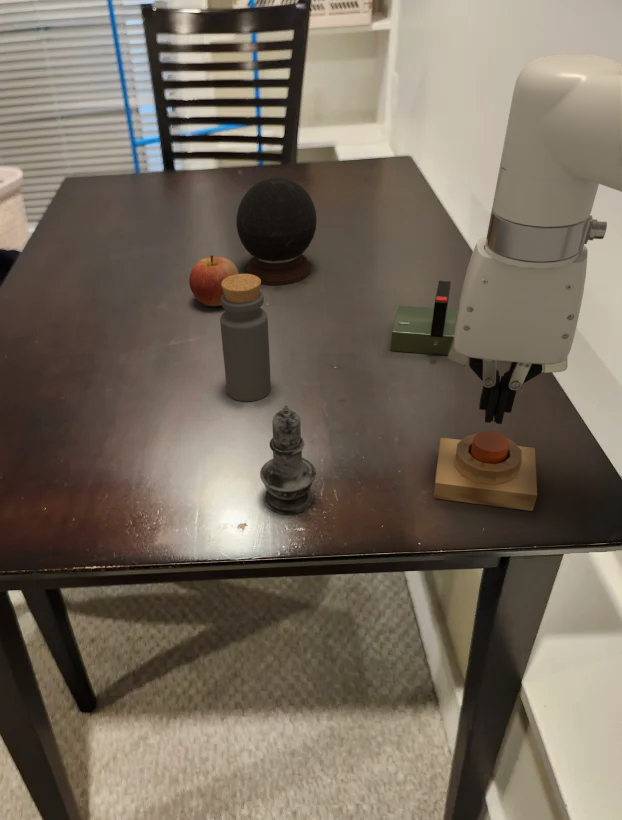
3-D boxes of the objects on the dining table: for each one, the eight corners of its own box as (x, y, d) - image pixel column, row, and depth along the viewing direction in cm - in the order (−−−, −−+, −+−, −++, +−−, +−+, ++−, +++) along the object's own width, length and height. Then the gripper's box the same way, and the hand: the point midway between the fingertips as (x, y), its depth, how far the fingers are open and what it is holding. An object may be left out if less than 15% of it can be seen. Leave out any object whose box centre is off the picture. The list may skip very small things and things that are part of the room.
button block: (530, 463, 76) (538, 434, 74) (532, 511, 71) (541, 481, 68) (438, 452, 79) (442, 424, 76) (432, 498, 73) (437, 469, 70)
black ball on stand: (326, 280, 114) (327, 186, 104) (249, 292, 113) (243, 198, 103) (304, 251, 124) (303, 162, 114) (233, 262, 122) (226, 172, 113)
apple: (235, 315, 107) (231, 265, 102) (186, 313, 109) (180, 264, 103) (246, 292, 113) (242, 244, 108) (199, 290, 115) (193, 243, 109)
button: (506, 446, 73) (509, 432, 72) (506, 467, 71) (509, 453, 69) (471, 442, 74) (473, 429, 73) (470, 462, 71) (472, 449, 70)
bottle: (228, 404, 89) (217, 294, 79) (225, 380, 93) (215, 273, 83) (273, 399, 89) (268, 289, 79) (268, 375, 93) (263, 269, 83)
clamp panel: (481, 330, 99) (485, 309, 97) (479, 369, 91) (483, 347, 89) (396, 324, 102) (398, 304, 100) (387, 361, 94) (389, 340, 92)
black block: (434, 314, 97) (439, 278, 93) (446, 315, 97) (451, 279, 93) (430, 336, 92) (434, 300, 89) (442, 337, 92) (447, 301, 88)
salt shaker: (316, 480, 76) (317, 388, 68) (315, 517, 72) (315, 423, 64) (263, 480, 77) (258, 388, 69) (259, 515, 73) (252, 422, 65)
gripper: (628, 220, 58) (570, 402, 70) (445, 212, 61) (420, 387, 74) (640, 257, 52) (575, 447, 65) (439, 246, 56) (414, 428, 68)
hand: (493, 415), depth 69 cm, fingers closed
